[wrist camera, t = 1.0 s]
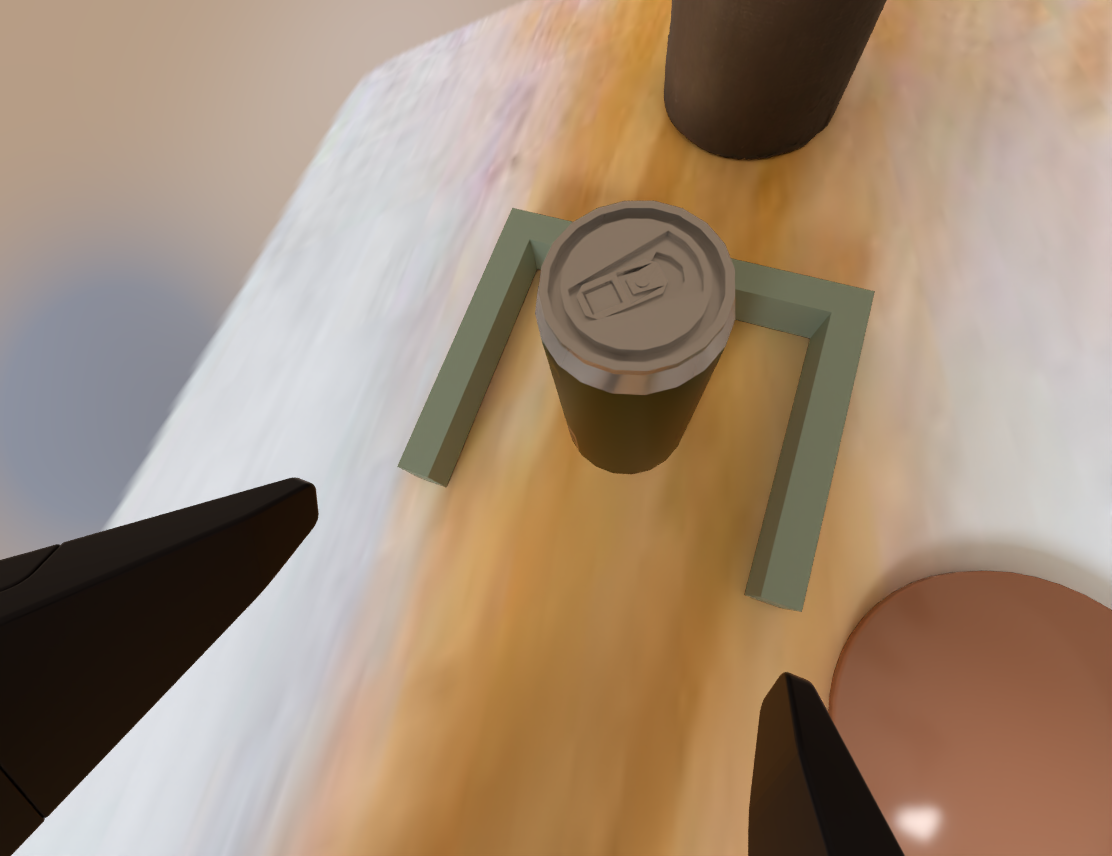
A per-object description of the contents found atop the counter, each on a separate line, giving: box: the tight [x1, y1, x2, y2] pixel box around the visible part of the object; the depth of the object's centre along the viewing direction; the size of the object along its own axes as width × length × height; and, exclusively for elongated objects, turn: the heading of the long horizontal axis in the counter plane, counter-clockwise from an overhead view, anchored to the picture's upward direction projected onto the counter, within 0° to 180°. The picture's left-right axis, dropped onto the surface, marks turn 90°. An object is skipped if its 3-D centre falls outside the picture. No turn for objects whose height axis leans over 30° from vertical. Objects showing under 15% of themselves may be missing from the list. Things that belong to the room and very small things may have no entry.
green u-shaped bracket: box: [397, 208, 875, 612], centre depth 23 cm, size 14×17×2 cm
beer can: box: [535, 201, 735, 474], centre depth 18 cm, size 5×5×12 cm
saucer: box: [828, 571, 1112, 856], centre depth 18 cm, size 13×13×1 cm
